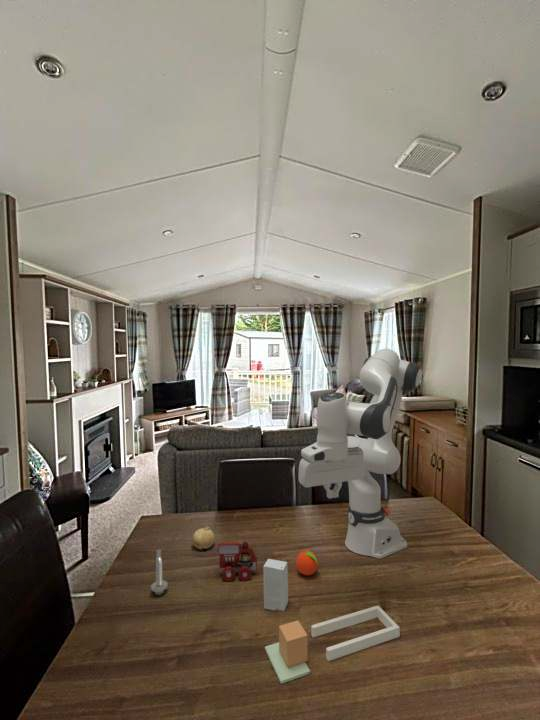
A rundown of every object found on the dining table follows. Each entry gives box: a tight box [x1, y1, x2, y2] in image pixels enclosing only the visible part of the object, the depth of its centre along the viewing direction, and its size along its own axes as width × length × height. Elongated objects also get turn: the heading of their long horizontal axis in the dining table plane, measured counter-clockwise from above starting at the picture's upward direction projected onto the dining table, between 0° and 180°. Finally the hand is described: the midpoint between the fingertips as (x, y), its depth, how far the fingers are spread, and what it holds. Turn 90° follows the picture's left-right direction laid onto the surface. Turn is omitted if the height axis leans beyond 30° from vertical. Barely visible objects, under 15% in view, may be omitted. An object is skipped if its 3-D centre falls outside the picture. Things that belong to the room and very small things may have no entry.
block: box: [278, 620, 309, 668], centre depth 87 cm, size 5×5×6 cm
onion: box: [191, 524, 216, 551], centre depth 136 cm, size 8×8×7 cm
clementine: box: [295, 550, 319, 576], centre depth 119 cm, size 8×7×7 cm
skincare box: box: [262, 558, 289, 612], centre depth 104 cm, size 6×4×12 cm
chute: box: [310, 605, 401, 662], centre depth 93 cm, size 20×8×3 cm, turn 111°
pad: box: [264, 641, 312, 685], centre depth 87 cm, size 10×10×1 cm
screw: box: [150, 549, 169, 596], centre depth 110 cm, size 13×5×5 cm
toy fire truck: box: [217, 540, 258, 582], centre depth 119 cm, size 7×12×10 cm, turn 93°
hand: (332, 497), depth 108 cm, fingers closed
